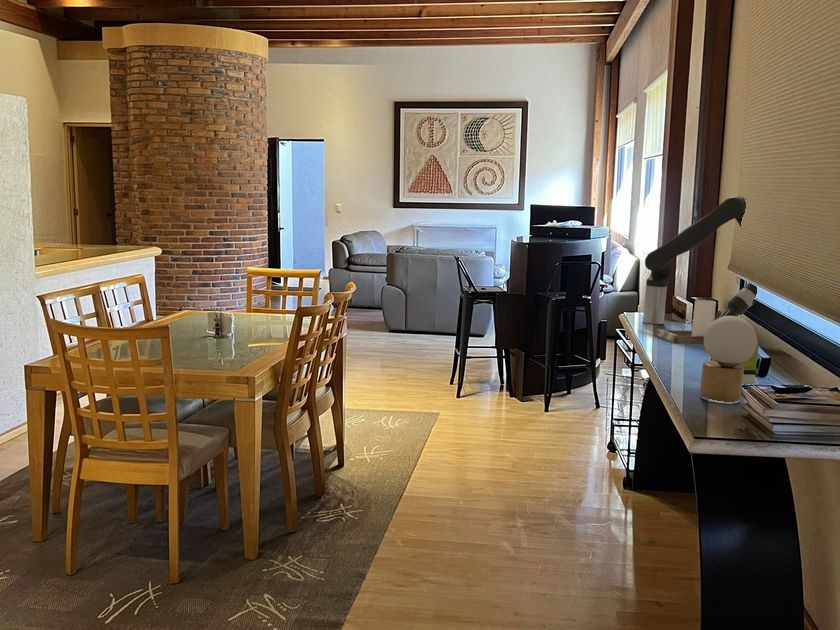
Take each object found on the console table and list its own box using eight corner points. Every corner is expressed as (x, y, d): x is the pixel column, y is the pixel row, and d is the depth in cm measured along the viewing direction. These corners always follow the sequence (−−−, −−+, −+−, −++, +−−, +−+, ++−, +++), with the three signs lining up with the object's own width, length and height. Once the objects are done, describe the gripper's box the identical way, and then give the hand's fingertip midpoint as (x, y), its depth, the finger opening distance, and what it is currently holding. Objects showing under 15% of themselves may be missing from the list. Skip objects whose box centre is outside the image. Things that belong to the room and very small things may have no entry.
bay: (656, 335, 334) (657, 328, 333) (708, 336, 338) (709, 329, 338) (673, 342, 319) (674, 335, 319) (728, 342, 324) (729, 335, 323)
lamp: (759, 409, 222) (769, 321, 219) (710, 408, 221) (719, 319, 217) (734, 394, 237) (742, 312, 233) (688, 394, 236) (696, 311, 232)
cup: (709, 338, 333) (713, 300, 330) (714, 341, 325) (718, 303, 322) (689, 337, 334) (692, 299, 331) (693, 340, 326) (697, 302, 323)
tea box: (707, 374, 265) (711, 330, 262) (737, 375, 264) (742, 331, 262) (723, 385, 250) (727, 339, 247) (755, 386, 249) (760, 340, 247)
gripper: (727, 292, 336) (698, 321, 335) (746, 297, 323) (716, 327, 322) (738, 305, 337) (709, 333, 337) (756, 310, 325) (726, 339, 324)
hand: (712, 330), depth 330 cm, fingers closed
